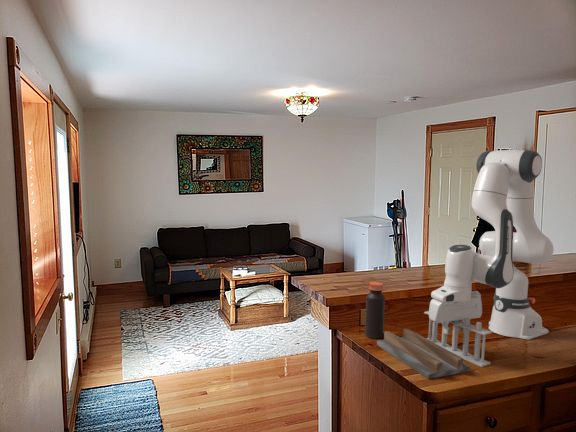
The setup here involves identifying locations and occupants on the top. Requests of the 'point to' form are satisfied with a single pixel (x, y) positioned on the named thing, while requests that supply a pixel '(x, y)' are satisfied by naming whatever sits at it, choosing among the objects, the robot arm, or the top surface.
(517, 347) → the top surface
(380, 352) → the top surface
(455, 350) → the test tube rack
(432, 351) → the cradle
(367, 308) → the bottle
